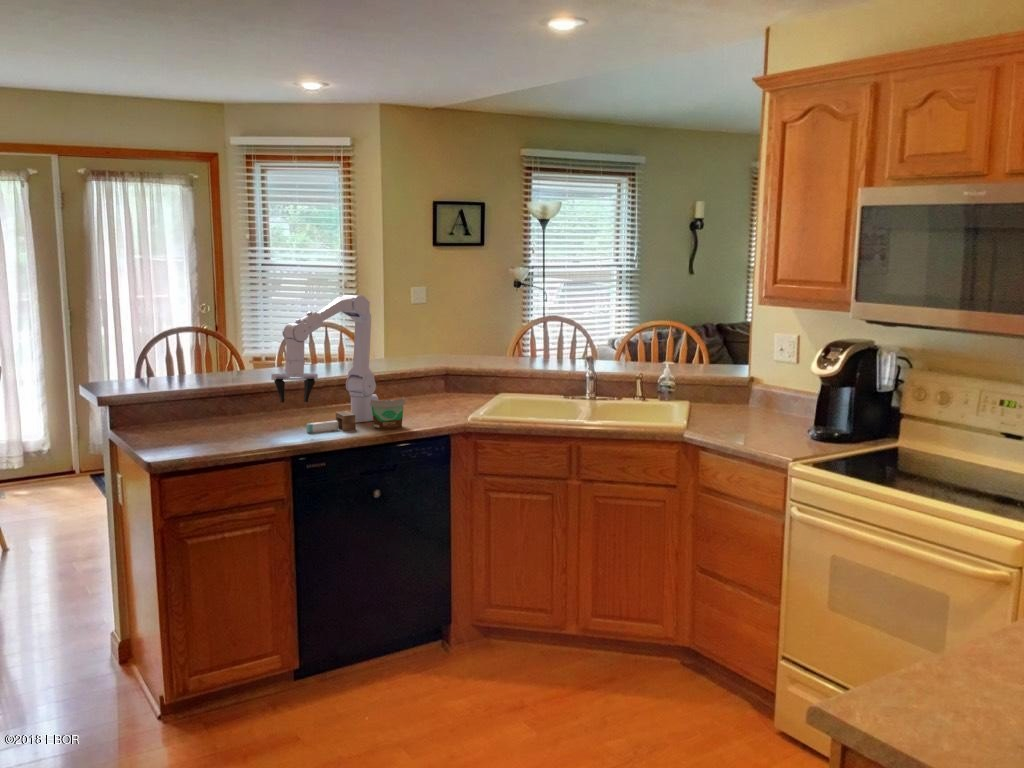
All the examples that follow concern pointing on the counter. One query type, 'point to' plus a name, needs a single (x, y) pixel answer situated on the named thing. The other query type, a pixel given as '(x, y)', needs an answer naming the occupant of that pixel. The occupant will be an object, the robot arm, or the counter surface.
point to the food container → (387, 414)
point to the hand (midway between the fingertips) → (294, 402)
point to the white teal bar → (322, 426)
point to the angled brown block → (346, 420)
